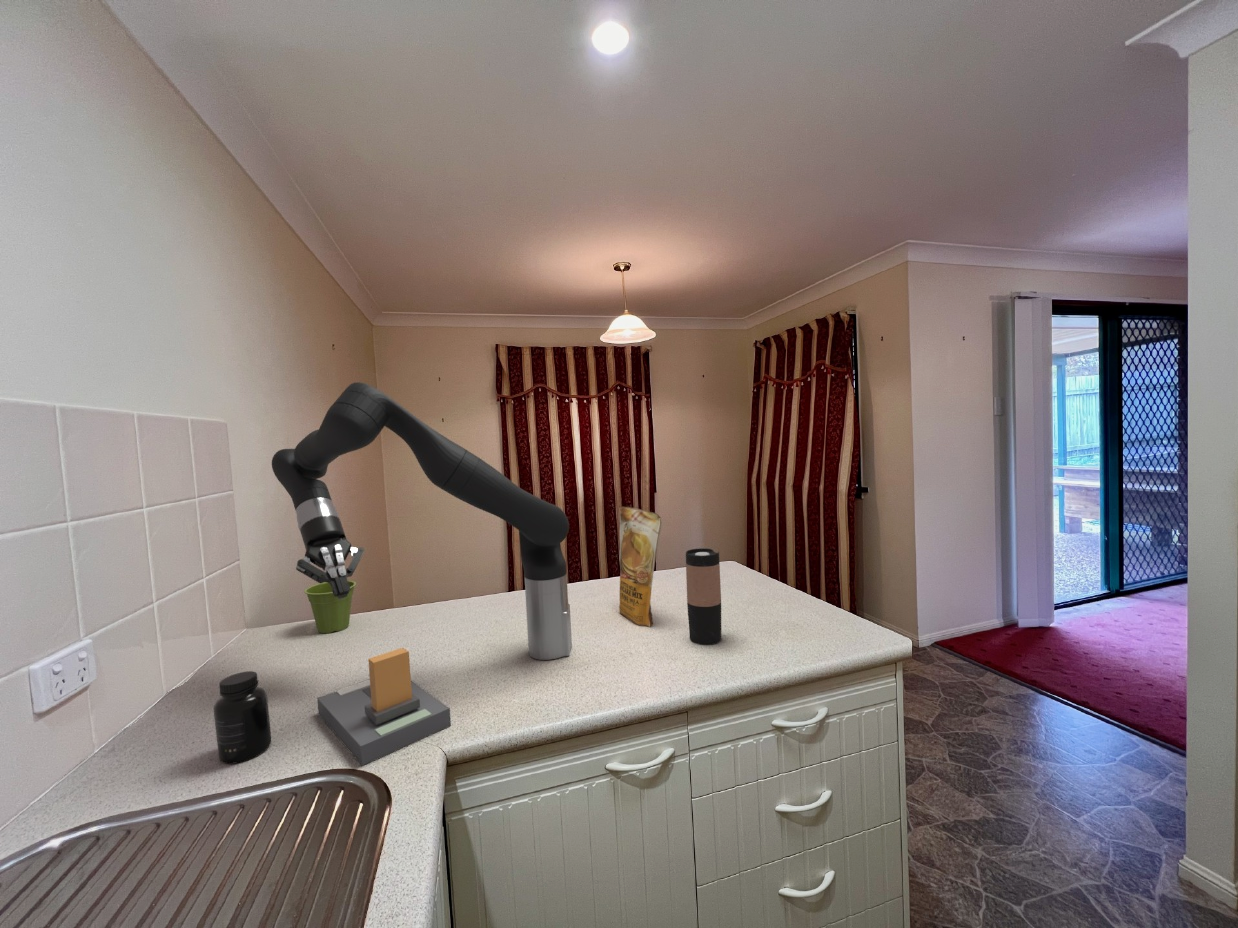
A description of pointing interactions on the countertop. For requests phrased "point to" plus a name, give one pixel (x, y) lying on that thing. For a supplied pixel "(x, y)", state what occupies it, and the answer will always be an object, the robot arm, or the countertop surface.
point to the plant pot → (330, 607)
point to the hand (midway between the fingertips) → (343, 595)
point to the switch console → (379, 740)
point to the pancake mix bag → (637, 562)
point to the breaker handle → (390, 686)
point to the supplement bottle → (241, 718)
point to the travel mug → (703, 596)
